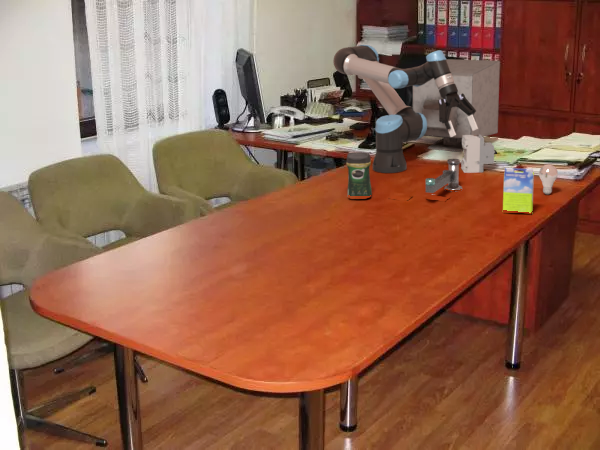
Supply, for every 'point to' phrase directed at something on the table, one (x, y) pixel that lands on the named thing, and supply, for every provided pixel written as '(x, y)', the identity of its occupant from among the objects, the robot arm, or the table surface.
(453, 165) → the post
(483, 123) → the crt monitor
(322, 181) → the table surface
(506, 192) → the box
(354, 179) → the coffee jar
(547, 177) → the light bulb
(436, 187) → the swing bar
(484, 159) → the circuit breaker
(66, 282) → the table surface
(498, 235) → the table surface
